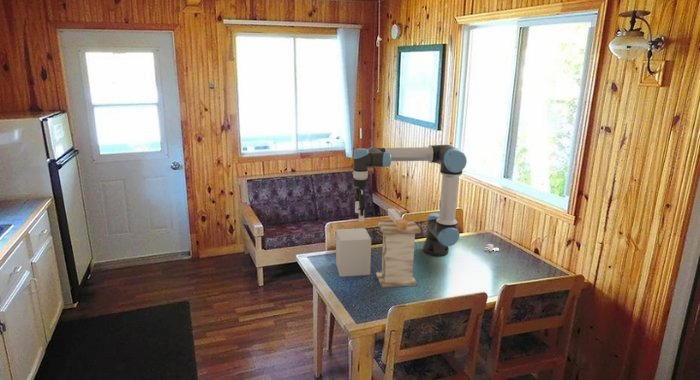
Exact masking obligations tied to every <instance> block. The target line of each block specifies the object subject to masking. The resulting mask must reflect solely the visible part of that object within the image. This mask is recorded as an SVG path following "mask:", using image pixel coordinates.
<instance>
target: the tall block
mask: <svg viewBox="0 0 700 380" xmlns="http://www.w3.org/2000/svg"><path fill="white" fill-rule="evenodd" d="M335 231H336V232H335V265H336V269H337V272H338V274H339V275H338V276H339V277H357V276H358V277H359V276H369V275H371V265H372V264H371V260H372V259H371V257H372V256H371V255H372V238H371V236H370V234H369V233H368V231H367V229H366V228H365V227H364V228H362V227H361V228H344V229H343V228H342V229H341V228H340V229H338V228H337V229H335Z"/></svg>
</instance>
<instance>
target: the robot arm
mask: <svg viewBox="0 0 700 380" xmlns="http://www.w3.org/2000/svg"><path fill="white" fill-rule="evenodd" d="M352 159H353V167H352V168H353V169H352V170H353V171H352V172H351V174H352V176H353V178H352V186H354V187H355V193H354V201H355V202H354V214H358V222H365V210H366V203H365V202H366V198H365V197H366V196H365V192H366V191H365V189H364V187H367V186H368V179H369V178H368V177H369V176H368V175H369V168H386V167H388V168H389V167H391V165H392V162H428V163H433V164H438V165H440V166H439V168H440V169H439V173H440V174H441V176H442V181H441V189H440V190H441V192H440V202H439V203H440V204H439V213H438V212H435V213H434V212H433V213H429V214H428V216H427V222H426V223H427V225H426V237H425V240H424V243H423V245H422V252H423V253H424V254H425V255H428V256H433V257H443V256H447V255H448V254H449V250H450V248H449V247H452V246H454V245H455V244H456V243H457V242H459V239H460V232H459V230H458V220H457V218H456V211H457V202H458V201H457V200H458V192H459V191H458V190H459V179H460V176H462V174H463V170H464V169H465V168H466V167H467V161H468V160H467V156H466V154H465V153H464V151H462V150H461V149H459V148H457V147H454V146H453V145H450V144H434V145H432V144H430V145H428V146H427V147H426V146H425V147H424V146H423V147H422V146H421V147H418V146H417V147H415V146H414V147H413V146H412V147H378V146H377V147H376V146H370V147H369V148H366V147H365V148H363V147H357V148H355V149H354V150H353V157H352Z"/></svg>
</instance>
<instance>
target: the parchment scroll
mask: <svg viewBox="0 0 700 380" xmlns="http://www.w3.org/2000/svg"><path fill="white" fill-rule="evenodd" d="M405 220H406V221H407V222H408V225H407V230H398V229H397V228H396V225H395V223H394V222H393V221H392V219H390V220H377V225H378V228H380V229H379V230H381V232H382V257H381V271H376V272H375V276H376V278H377V279H378V283H379V285H380V287H381V288H397V287H399V288H400V287H412V286H418V282H417V280H416V279H415V277H414V274H413V273H414V259H415V255H414V254H415V243H416V241H415V240H416V234H421V231H422V229H421V228H420V226H418V225H417V223H416V222H415V221H414V220H413V219H405Z"/></svg>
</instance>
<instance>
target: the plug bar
mask: <svg viewBox="0 0 700 380" xmlns="http://www.w3.org/2000/svg"><path fill="white" fill-rule="evenodd" d="M387 216H388V217H389V219H390V220H392V221H393V222H394V223H395V225H396V228H397V229H398V230H407V225H408V222H407V221H406V220H407V219H403V218H402V217H401V216H400V215H399V214H398V213H397V211H396V210H395V209H394V208H387Z"/></svg>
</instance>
